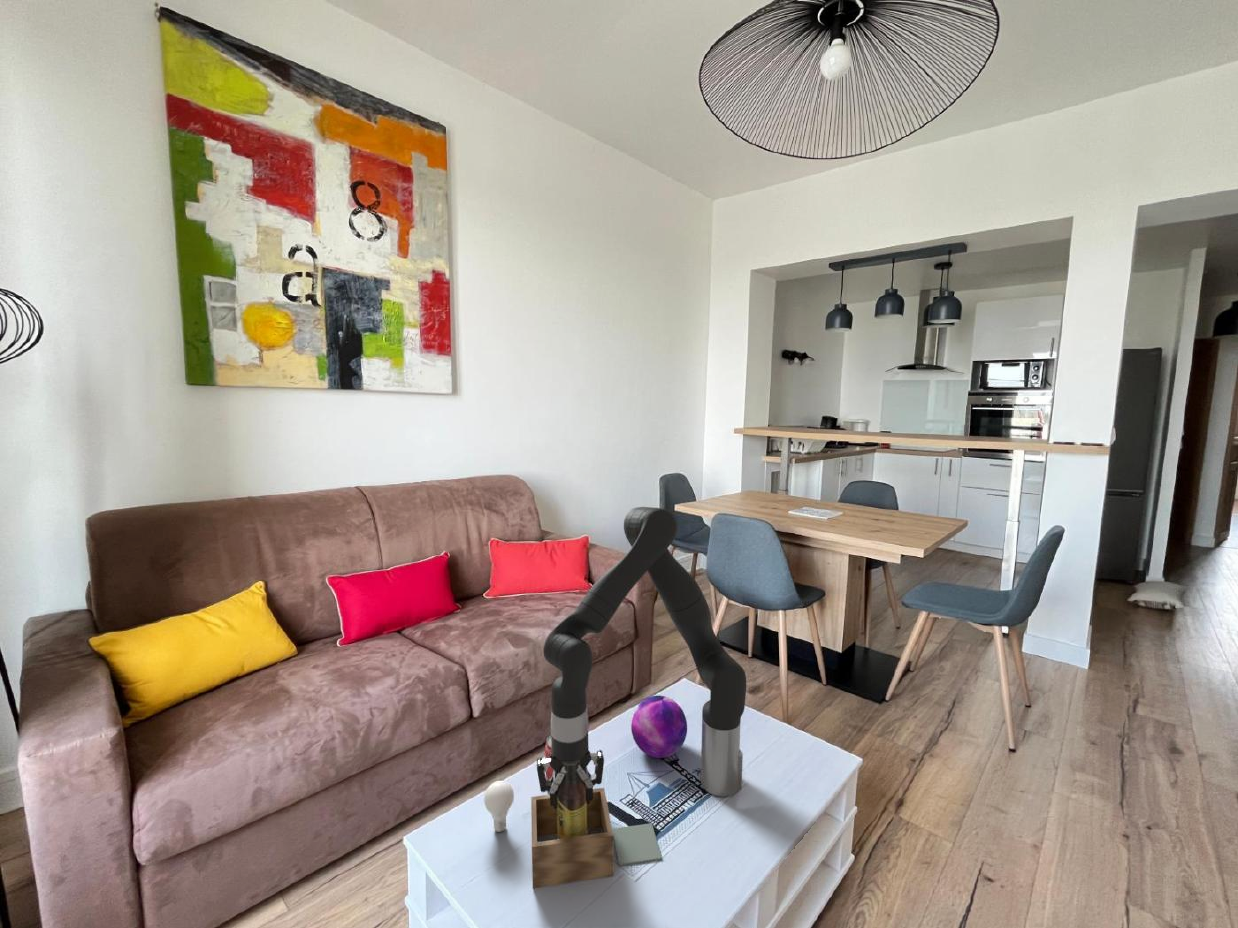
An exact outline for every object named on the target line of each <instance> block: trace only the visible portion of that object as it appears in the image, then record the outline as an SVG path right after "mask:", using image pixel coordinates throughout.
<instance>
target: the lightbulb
mask: <svg viewBox="0 0 1238 928" xmlns="http://www.w3.org/2000/svg"><path fill="white" fill-rule="evenodd" d="M514 795H515V794H514V789H513V787H512V785H511V784H510V783H509V782H507V781H505V780H496V781H494V782H492V783H491V784H490V785H489V786H488V787H487V789H486V791H485V793H484V797H483V803H484V806H485V809H486V810H487V811H488V812H489V813H490V814H491V818H492V820H493V830H494V831H495V832H498V833H499V832H503V831H505V829H506V828H507V816H508V812H509V810H510V808H511V807H512V805H513V804H514V803H513V802H514V799H515V798H514V797H515V796H514Z"/></svg>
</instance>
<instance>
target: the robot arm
mask: <svg viewBox="0 0 1238 928" xmlns="http://www.w3.org/2000/svg"><path fill="white" fill-rule="evenodd" d="M623 531H624V535H625V538H626V539H627V542H628V543H629V545H630V546H631V548H630V549H629V550H628V552H627V553H626V554H625V555H624V556H623V557H622V558H621V559H620V560H619V561H618V562H617V563H616V564H615V565H614V566H612V567H611V568H610V569H608V570H607V571H606V572H605V573H604V574H602V575H601V576H600V577H599V578H598V579H596V581H595V583H594V584H592V586H591V587H590V589H588V591H587V593H586V594H585V596H584V597H583V599H582V600H581V602H580V603H579V604H578V606H577V608H575V610H574V611H572V612H571V613H570V614H569V615H567V616H566V617H565V618H564V619H563V620H562V621H561V622H560V623H559V624H558V625H556V626H555V627H554V628H553V629H552V631H550V633H549V634H548V636H547V637H546V640H545V642H544V645H543V649H542V650H543V657H544V658H545V660H546V661H547V662H548V663H549V664H550V665H551V666H553V667H555V668H556V669H558V670H559V671H561V674H562V675H561V676H559V677H557V678H556V679H554V681H553V683H552V685H551V690H550V691H551V692H550V695H551V697H550V698H551V699H550V700H551V712H550V713H551V715H550V735H551V747H552V754H551V756H550V758H549V759H545V758H544V759H543V758H542V757H538V758H536V770H537V771H536V772H537V778H538V782H539V789H540V792H541V793H546V792H548V793H549V795H550V805H551V806H554V809H557V791H556V789H557V787H558V785H560V783H561V781H562V779H563V777H564V775H565V774H566V771H565V766H562V761H566V762H571V761H576V760H578V759H580V760H581V765H580V764H579V768H578V769H577V772H578V774H579V776H580V777H581V779H582V780H583V782H585V784H586V798H587V804H590V801H592V800H593V789H594V786H595V785H600V784H602V783H603V782H602V781H603V774H604V765H605V757H604V753H603V750H601V749H598V750H597V751H596V752H591V751H590V749H589V727H590V726H589V716H588V711H587V688H588V687H587V686H588V684H589V682H590V681H589V679H590V675H591V672H592V668H593V663H594V657H593V652H592V648H591V646H590V644H588V642H586V640H584V639H583V638H584V637H585V636H586V635H587V634H591V633H592V634H601V633H602V632H603V631H604V630H605V629H606V627H607V626H608V624H609V623H610V621H611V620H612V618H613V616H614V615H615V614H616V612H617V611H618V609H619V607H620V606H621V604H622V602H623V601H624V600H625V599H626V598H627V596H628V594H629V593H630V592H631V591H632V589H633V588H634V586H635V585H637V583H638V582H639V581H640V580H641V579H642V578H643V576H644V575H646V572H647V573H648V575H649V577H650V579H651V581H652V583H653V585H654V587H655V588H656V591H657V593H658V595H659V596H660V598H661V600H662V604H664V607H665V610H666V611H667V613H668V614H669V617H670V619H671V620H672V622H673V624H674V626H675V627H676V629H677V631H678V633H679V634H680V636H681V637H682V638H683V641H685V643H686V644H687V646H688V648H689V651H690V654H691V657H692V659H693V663H694V665H695V667H696V671H697V673H698V675H699V678H700V680H701V681H702V682H703V683H704V685H705V686H706V688H708V689H709V691H710V692H709V693H710V694H709V695H710V696H709V700H707V701H706V702H705V703H704V704H703V706H702V713H701V714H702V715H701V716H702V718H701V750H700V753H701V755H700V757H701V758H700V766H701V767H700V784H701V786H702V787H703V789H704V790H705V792H707V793H709V794H711V795H713V796H716V797H721V798H723V797H724V798H725V797H730V796H733V795H734V794H735V793H736V792H738V791H740V790H741V791H742V788H743V786H742V785H743V760H744V759H743V758H744V755H743V752H742V750H741V719H742V716H743V714H744V711H745V706H746V697H747V675H746V672H745V670H744V668H743V666H741V664H739V663H738V662H737V660H735V659H734V658H733V657H732V656H731V655H730V654H729V653H728V652H727V651H726V650H725V648H724V647H723V646H722V643H720V641H719V639H718V637H717V636H716V633H715V631H714V629H713V623H712V615H711V610H710V607H709V604H708V602H707V600H706V598H705V596H704V593H703V591H702V589H701V587H700V586H699V584H698V582H697V581H696V579H695V578H694V576H693V575H691V573H689V571H688V570H687V569H685V567H683V565H681V564H680V563H679V561H678V560H677V559H676V558H675V556H674V555H673V554H672V553H671V551H670V550H669V547H670V546H671V544H672V543H673V541H674V540H675V538H676V536H677V534H678V533H677V532H678V522H677V519H676V517H675V515H674V514H673V513H672V512H671V511H670V510H668V509H665V508H661V507H647V506H638V507H634V508H632V509H630V510H629V511H628V512H627V513H626V515H625V518H624V520H623ZM591 761H592V762H593V763H592V764H593V765H594V766H595V767H594V774H591V773H590V771H589V769H588V766H589V764H590V763H591ZM548 766H551V767H552V768H553V769H554V771H553V775H552V777H551V779H550V781H547V780H546V771H547V769H548Z"/></svg>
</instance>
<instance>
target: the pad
mask: <svg viewBox="0 0 1238 928" xmlns="http://www.w3.org/2000/svg"><path fill="white" fill-rule="evenodd" d="M612 831H613V843H614V846H615V852H616V855H617V861H618V862H617V863H618V866H619V867H621V866H627V865H634V864H640V863H646V862H653V861H661V860H662V859H663V856H662V853H661V850H660V846H659V843H658V840H657V837H656V833H655V830H654V826H653V823H651V822H650V823H644V824H636V825H627V826H622V827H617V828H612Z"/></svg>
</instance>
